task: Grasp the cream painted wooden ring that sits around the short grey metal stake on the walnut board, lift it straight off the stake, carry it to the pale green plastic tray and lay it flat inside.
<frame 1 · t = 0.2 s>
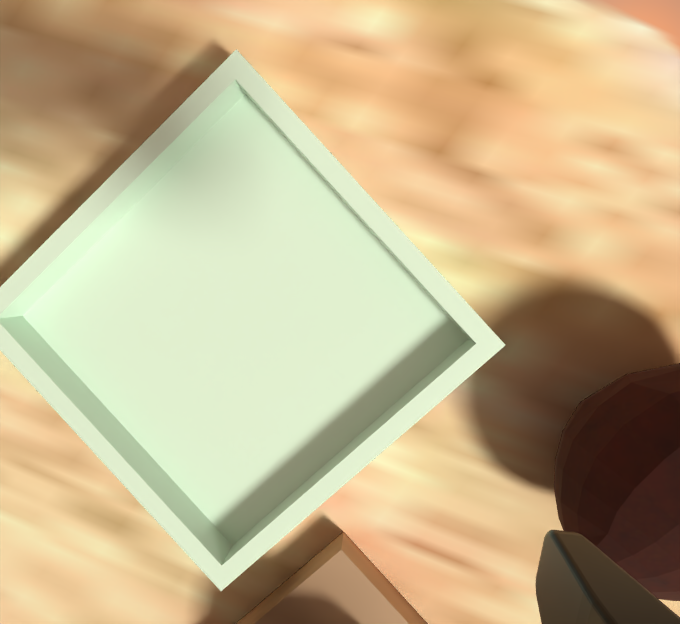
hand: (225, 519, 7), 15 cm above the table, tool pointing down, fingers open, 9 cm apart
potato: (622, 440, 22), on the table
tray: (242, 325, 23), on the table
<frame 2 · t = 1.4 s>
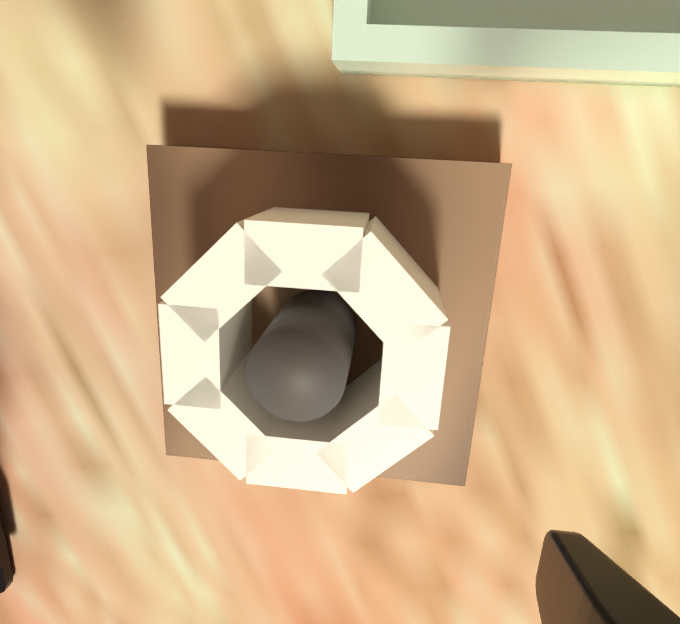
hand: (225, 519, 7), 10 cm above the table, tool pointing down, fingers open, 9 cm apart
stake board: (323, 312, 17), on the table
ring: (317, 327, 15), point 1 cm above the table, touching stake board
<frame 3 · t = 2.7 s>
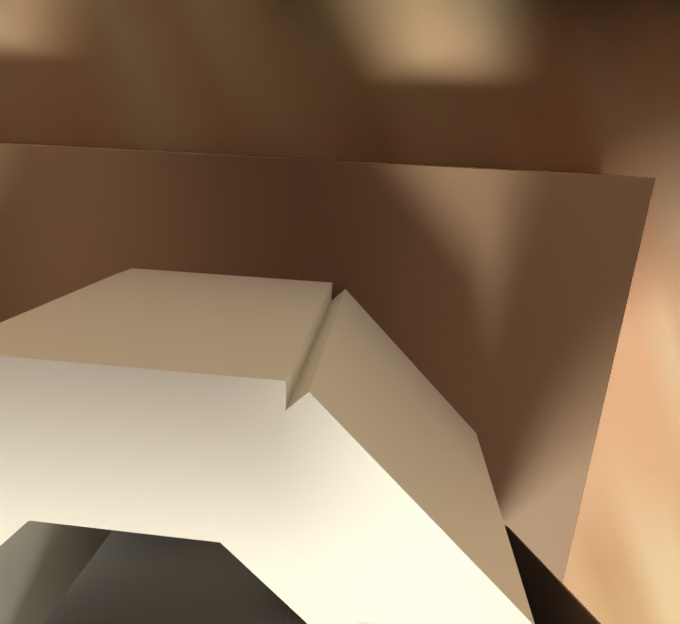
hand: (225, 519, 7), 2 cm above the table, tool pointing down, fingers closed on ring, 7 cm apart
stake board: (258, 445, 9), on the table
ring: (233, 499, 8), point 2 cm above the table, touching gripper, stake board
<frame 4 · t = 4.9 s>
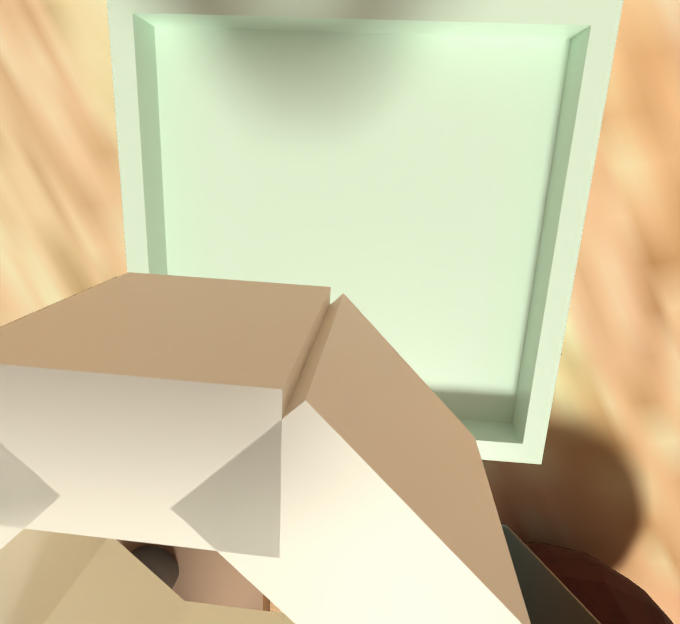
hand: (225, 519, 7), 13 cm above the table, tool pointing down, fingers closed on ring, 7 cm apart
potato: (527, 572, 23), on the table
tray: (348, 238, 19), on the table
stake board: (166, 543, 24), on the table
ring: (232, 504, 8), point 13 cm above the table, touching gripper
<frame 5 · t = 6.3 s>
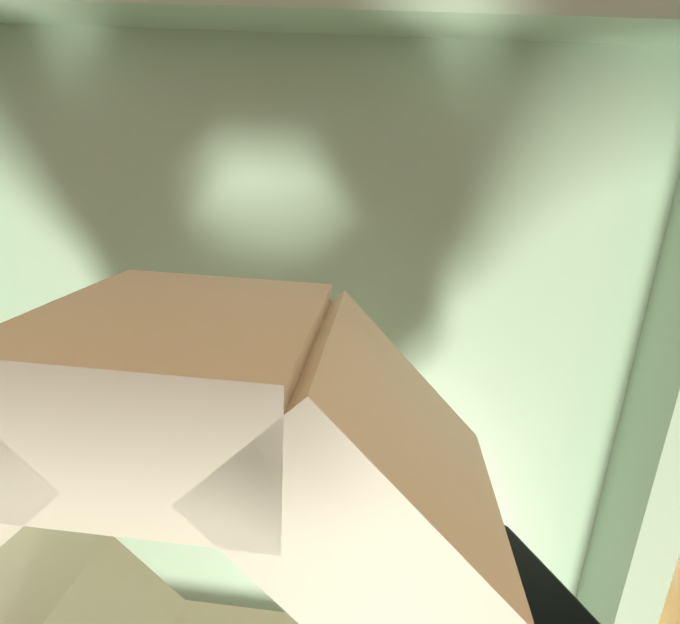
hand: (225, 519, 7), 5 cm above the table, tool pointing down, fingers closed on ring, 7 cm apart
tray: (289, 381, 11), on the table
ring: (232, 502, 8), point 4 cm above the table, touching gripper
when the fingers open (3 cm above the table, at t = 7.2 s): ring drops 2 cm, resting on tray.
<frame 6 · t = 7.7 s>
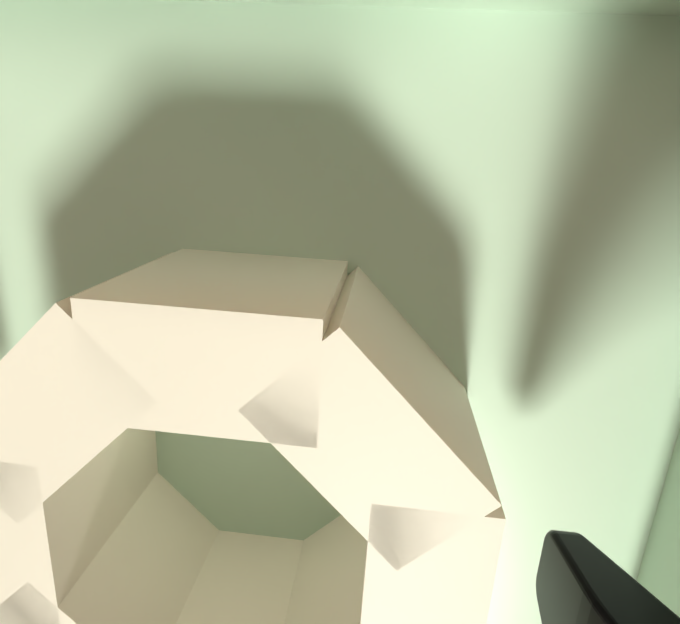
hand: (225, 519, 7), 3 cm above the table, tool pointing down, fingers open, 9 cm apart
tray: (268, 425, 10), on the table
ring: (262, 445, 9), point 1 cm above the table, touching tray
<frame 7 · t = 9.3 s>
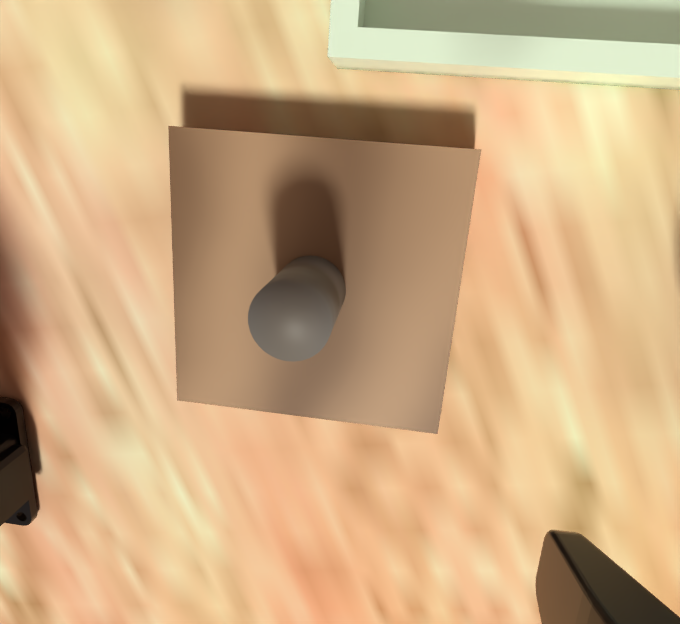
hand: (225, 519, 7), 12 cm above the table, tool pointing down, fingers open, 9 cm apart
stake board: (318, 279, 19), on the table
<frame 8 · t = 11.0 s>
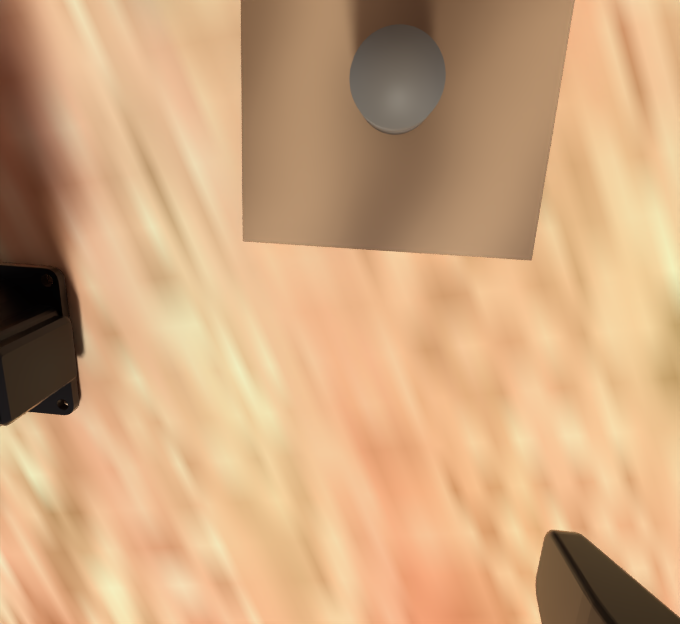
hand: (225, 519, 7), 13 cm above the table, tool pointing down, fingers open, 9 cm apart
stake board: (395, 99, 17), on the table
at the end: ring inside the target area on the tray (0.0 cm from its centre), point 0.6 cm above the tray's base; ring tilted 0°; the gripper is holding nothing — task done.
